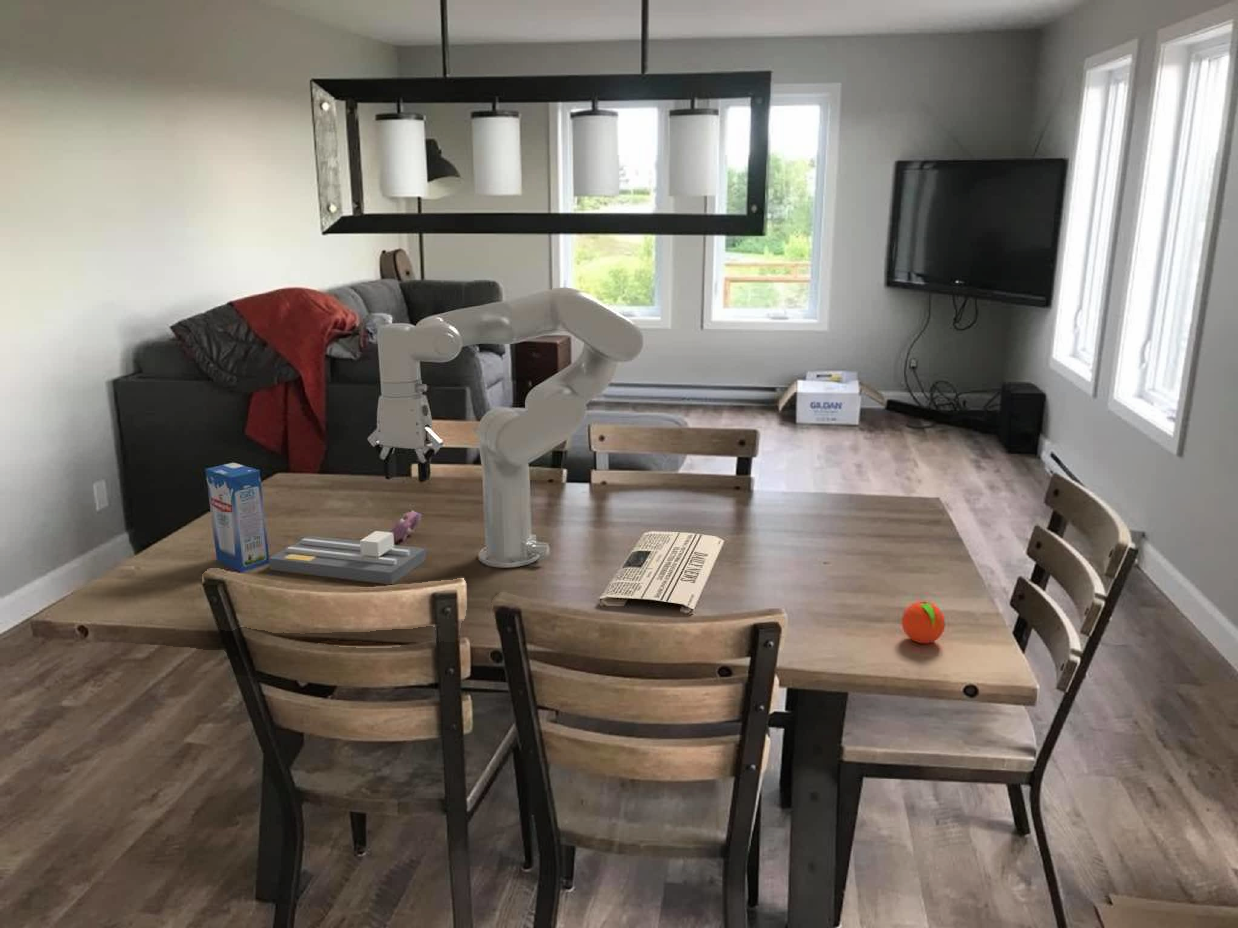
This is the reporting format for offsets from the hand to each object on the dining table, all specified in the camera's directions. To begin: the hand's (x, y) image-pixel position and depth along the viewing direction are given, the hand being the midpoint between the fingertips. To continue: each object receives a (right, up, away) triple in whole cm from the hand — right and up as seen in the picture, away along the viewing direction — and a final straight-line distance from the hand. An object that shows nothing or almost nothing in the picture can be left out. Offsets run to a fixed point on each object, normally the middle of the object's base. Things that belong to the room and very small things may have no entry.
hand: (407, 478), depth 193 cm
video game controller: (-6, -14, +25) cm, 30 cm away
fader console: (-14, -18, +10) cm, 25 cm away
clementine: (+92, -27, -27) cm, 100 cm away
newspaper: (+51, -20, +4) cm, 55 cm away
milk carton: (-37, -18, +12) cm, 42 cm away
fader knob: (-7, -16, +7) cm, 19 cm away
